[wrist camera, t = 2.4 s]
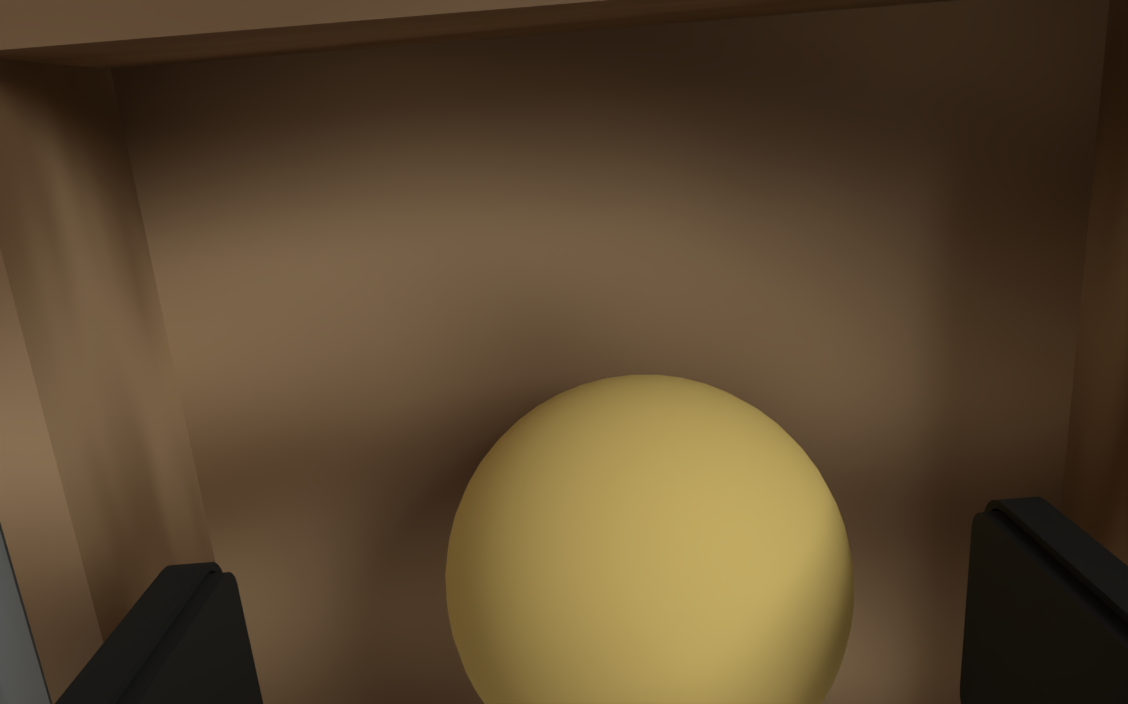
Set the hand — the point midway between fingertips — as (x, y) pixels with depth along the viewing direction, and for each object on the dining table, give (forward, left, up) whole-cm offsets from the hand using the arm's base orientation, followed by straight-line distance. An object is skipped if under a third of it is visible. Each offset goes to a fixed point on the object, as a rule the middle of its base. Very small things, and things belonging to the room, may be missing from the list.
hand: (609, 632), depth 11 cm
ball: (0, -1, -5) cm, 5 cm away
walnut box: (0, -1, -6) cm, 6 cm away
